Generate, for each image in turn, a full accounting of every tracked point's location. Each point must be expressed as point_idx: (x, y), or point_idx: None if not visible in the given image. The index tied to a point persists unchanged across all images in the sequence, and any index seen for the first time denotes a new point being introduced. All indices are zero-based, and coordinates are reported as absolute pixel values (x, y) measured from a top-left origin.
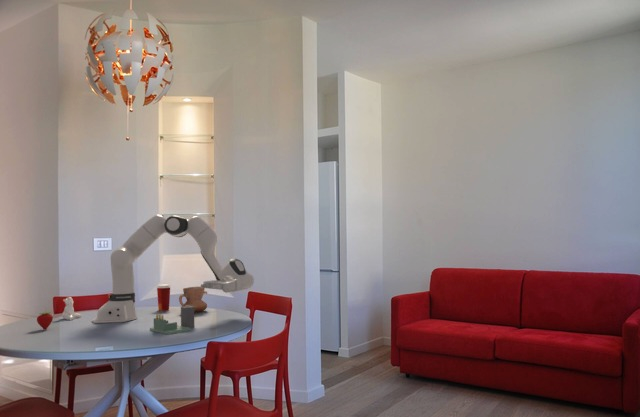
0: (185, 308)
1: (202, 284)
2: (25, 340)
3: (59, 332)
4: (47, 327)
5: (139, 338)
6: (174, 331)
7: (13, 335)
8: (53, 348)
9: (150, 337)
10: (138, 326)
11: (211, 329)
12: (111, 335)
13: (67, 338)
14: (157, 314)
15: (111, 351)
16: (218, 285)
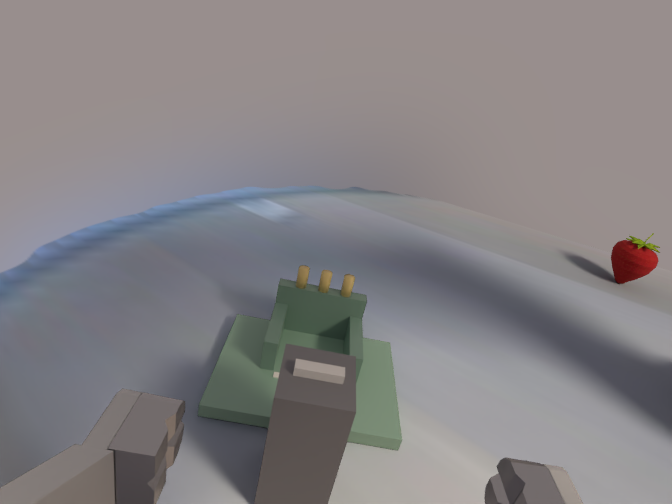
0: (296, 349)
1: (530, 470)
2: (487, 225)
3: (550, 272)
4: (619, 279)
5: (285, 269)
6: (229, 335)
7: (565, 243)
8: (362, 202)
9: (263, 283)
10: (520, 389)
11: None
12: (404, 276)
13: (449, 243)
14: (346, 275)
15: (224, 197)
16: (23, 486)
